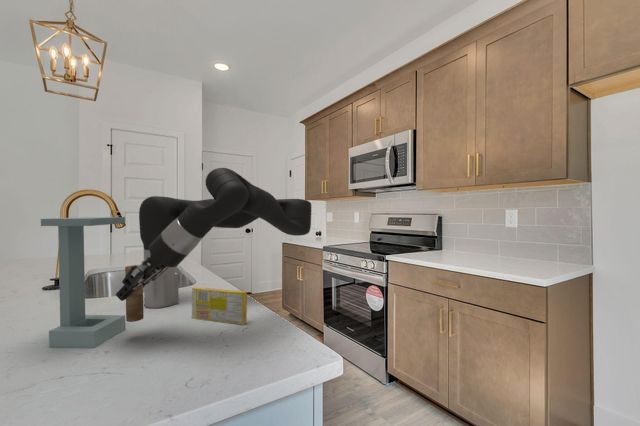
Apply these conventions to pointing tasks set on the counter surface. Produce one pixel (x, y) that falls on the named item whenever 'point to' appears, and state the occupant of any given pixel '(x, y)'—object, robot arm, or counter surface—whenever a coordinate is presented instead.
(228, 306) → the candy box
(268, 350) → the counter surface
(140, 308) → the peg
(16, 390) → the counter surface
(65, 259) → the socket stand
